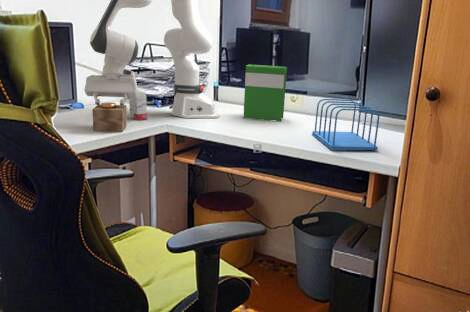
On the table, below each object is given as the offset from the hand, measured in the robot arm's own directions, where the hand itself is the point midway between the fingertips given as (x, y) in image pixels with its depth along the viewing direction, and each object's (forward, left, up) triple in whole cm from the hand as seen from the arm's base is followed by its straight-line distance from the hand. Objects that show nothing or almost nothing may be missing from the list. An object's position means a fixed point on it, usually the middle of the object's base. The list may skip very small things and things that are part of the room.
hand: (109, 104), depth 183 cm
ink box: (-8, -23, -10) cm, 26 cm away
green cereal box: (-65, -32, -10) cm, 73 cm away
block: (0, -1, -10) cm, 10 cm away
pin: (+1, -1, -9) cm, 9 cm away
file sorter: (-90, +13, -10) cm, 91 cm away
